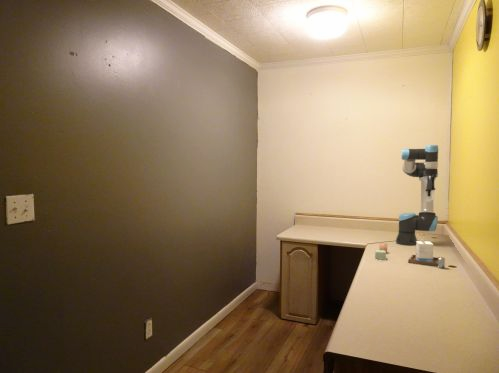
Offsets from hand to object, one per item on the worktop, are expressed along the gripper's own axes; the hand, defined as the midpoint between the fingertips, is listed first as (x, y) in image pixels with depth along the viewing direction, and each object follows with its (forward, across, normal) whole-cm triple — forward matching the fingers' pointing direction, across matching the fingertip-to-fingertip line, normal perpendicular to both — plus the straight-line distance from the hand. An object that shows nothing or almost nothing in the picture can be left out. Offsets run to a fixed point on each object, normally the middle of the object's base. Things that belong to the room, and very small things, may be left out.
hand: (430, 200), depth 238 cm
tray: (+37, +20, 0) cm, 42 cm away
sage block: (+37, +27, -25) cm, 52 cm away
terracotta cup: (+37, +10, -27) cm, 47 cm away
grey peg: (+37, +29, +10) cm, 48 cm away
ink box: (+36, +20, 0) cm, 42 cm away
